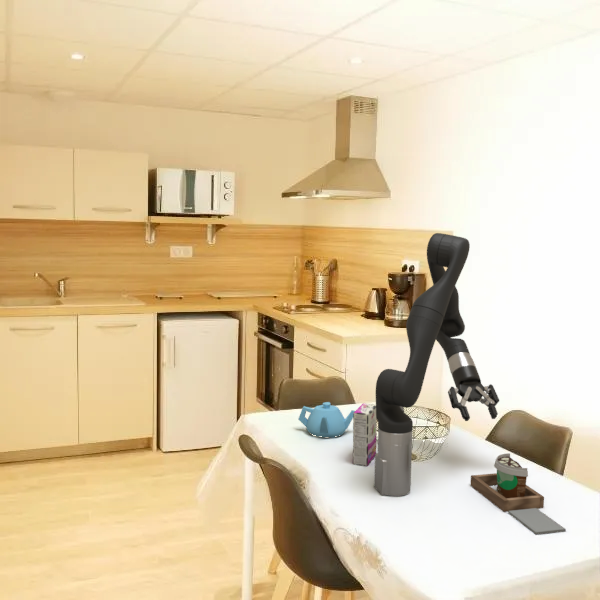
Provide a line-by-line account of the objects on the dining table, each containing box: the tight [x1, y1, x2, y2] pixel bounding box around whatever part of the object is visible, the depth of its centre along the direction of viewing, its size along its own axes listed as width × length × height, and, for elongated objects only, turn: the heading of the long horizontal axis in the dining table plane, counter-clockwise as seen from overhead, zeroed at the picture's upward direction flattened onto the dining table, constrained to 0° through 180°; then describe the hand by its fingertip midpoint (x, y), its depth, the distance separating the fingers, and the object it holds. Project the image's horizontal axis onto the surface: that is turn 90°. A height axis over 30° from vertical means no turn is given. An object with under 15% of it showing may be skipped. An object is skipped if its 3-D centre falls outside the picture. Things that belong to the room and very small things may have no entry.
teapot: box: [298, 401, 356, 438], centre depth 229 cm, size 15×15×11 cm
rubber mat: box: [507, 508, 567, 536], centre depth 161 cm, size 8×12×1 cm, turn 14°
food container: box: [493, 453, 529, 498], centre depth 176 cm, size 12×6×10 cm, turn 5°
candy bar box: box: [352, 402, 378, 467], centre depth 202 cm, size 11×5×16 cm, turn 160°
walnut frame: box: [470, 472, 545, 513], centre depth 176 cm, size 11×17×3 cm, turn 14°
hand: (481, 418), depth 189 cm, fingers open, 8 cm apart
